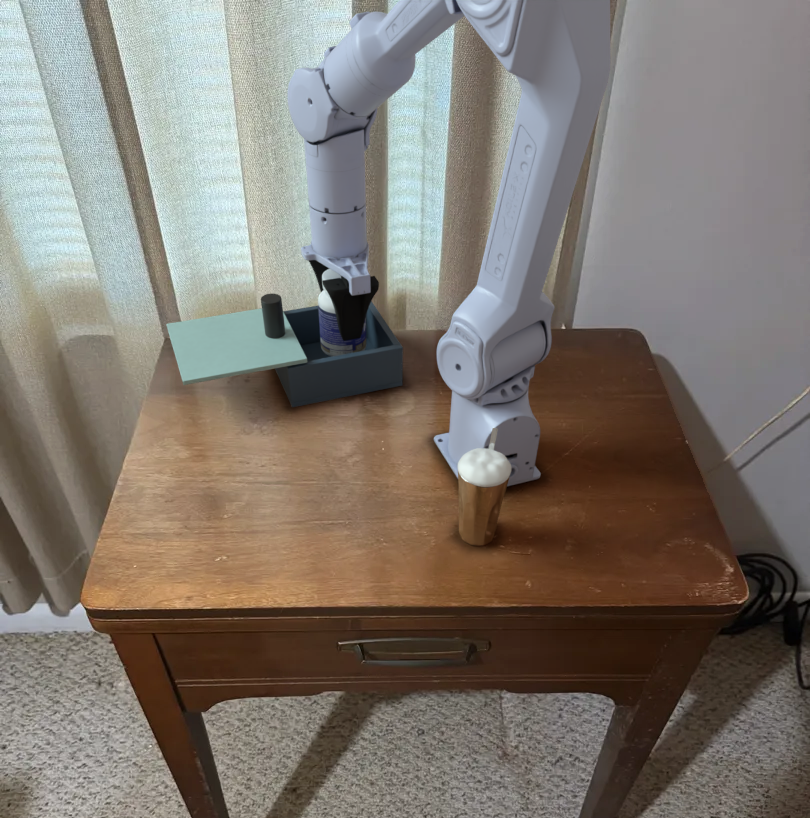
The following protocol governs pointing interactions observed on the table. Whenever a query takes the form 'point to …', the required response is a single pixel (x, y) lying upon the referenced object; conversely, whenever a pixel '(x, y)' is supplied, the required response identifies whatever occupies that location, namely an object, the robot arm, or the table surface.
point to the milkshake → (481, 492)
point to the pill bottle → (335, 325)
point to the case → (340, 361)
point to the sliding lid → (235, 343)
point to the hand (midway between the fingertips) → (343, 324)
